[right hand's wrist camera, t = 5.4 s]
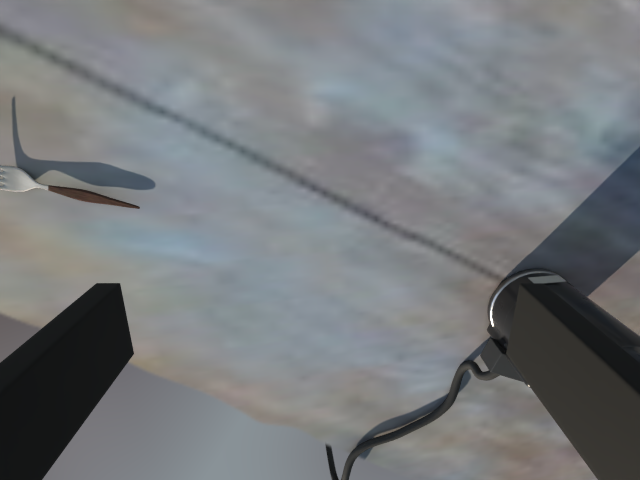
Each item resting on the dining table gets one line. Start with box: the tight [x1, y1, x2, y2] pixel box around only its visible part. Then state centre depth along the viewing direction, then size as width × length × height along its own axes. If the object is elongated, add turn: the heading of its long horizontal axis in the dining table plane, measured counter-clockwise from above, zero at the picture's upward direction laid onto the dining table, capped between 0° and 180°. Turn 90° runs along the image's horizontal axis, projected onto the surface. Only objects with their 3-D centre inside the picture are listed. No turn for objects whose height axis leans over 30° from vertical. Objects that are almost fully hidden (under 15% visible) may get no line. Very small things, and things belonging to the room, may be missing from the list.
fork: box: [0, 166, 140, 209], centre depth 39 cm, size 3×16×2 cm, turn 77°
